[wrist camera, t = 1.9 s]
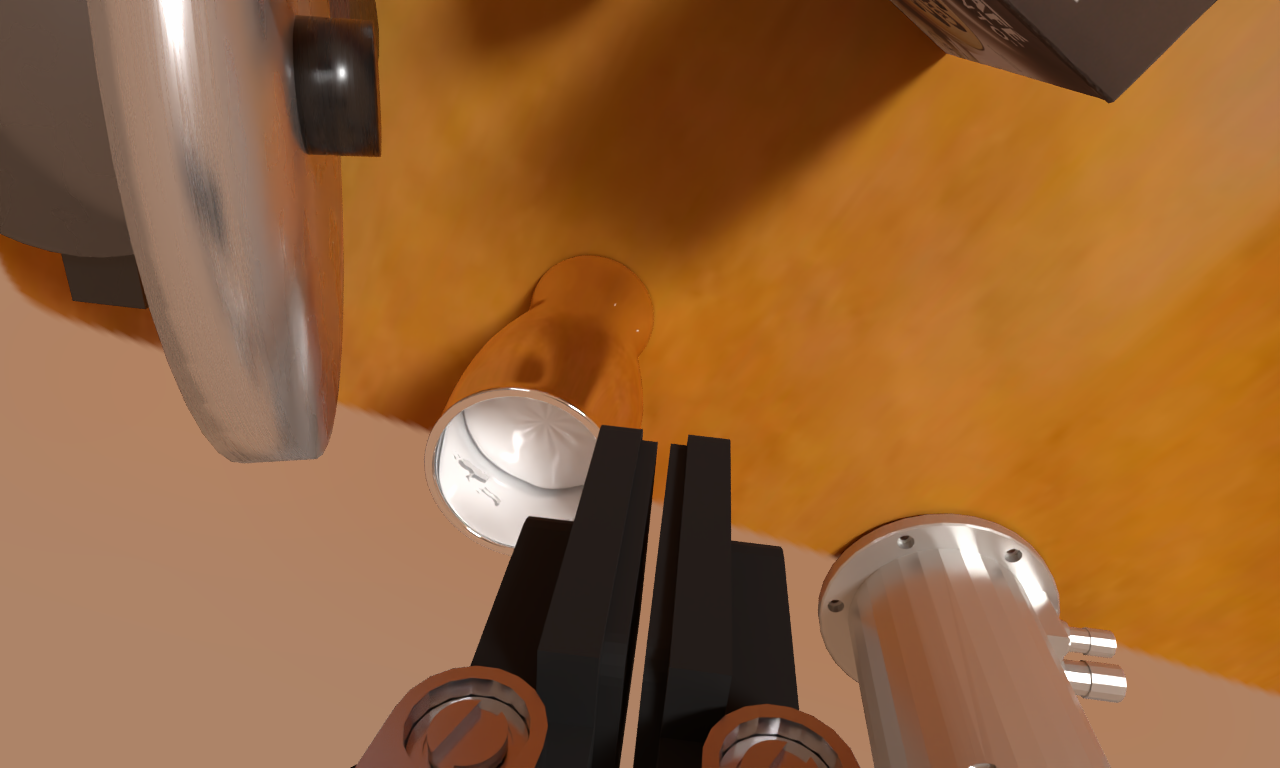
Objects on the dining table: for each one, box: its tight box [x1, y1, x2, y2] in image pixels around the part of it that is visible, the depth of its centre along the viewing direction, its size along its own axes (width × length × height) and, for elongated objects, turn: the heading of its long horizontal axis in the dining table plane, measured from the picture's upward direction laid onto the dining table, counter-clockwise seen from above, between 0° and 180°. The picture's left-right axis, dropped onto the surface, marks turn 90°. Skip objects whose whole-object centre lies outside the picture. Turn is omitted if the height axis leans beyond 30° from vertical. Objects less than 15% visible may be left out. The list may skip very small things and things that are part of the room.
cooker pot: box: [0, 0, 379, 309], centre depth 31 cm, size 18×21×10 cm
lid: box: [87, 0, 381, 463], centre depth 19 cm, size 18×17×4 cm
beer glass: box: [424, 255, 654, 556], centre depth 33 cm, size 7×7×15 cm
